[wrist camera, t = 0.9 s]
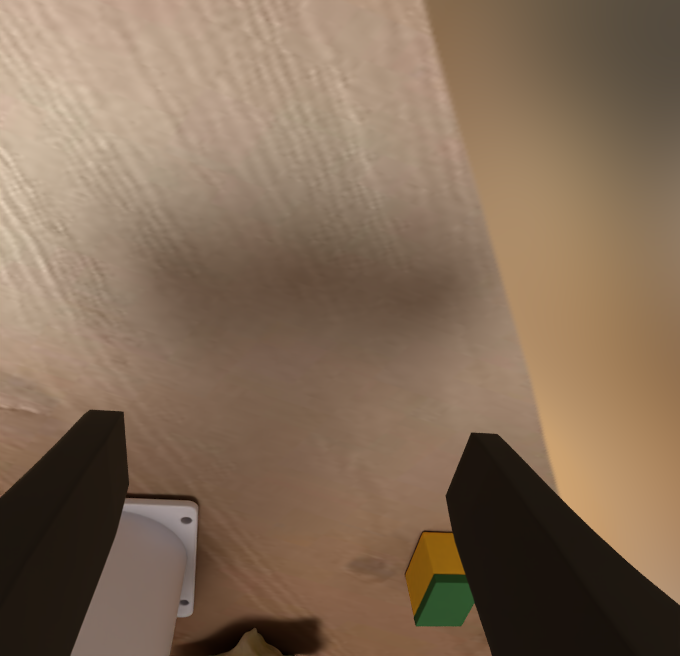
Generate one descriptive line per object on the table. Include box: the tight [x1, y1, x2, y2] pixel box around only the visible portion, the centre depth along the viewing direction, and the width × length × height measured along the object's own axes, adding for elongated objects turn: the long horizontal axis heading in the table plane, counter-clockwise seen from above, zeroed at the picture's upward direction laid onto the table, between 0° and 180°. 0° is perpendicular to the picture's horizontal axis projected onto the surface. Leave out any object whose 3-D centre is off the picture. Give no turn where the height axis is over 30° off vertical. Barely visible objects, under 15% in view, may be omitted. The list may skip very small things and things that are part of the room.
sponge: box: [405, 532, 475, 626], centre depth 27 cm, size 4×3×3 cm, turn 170°
